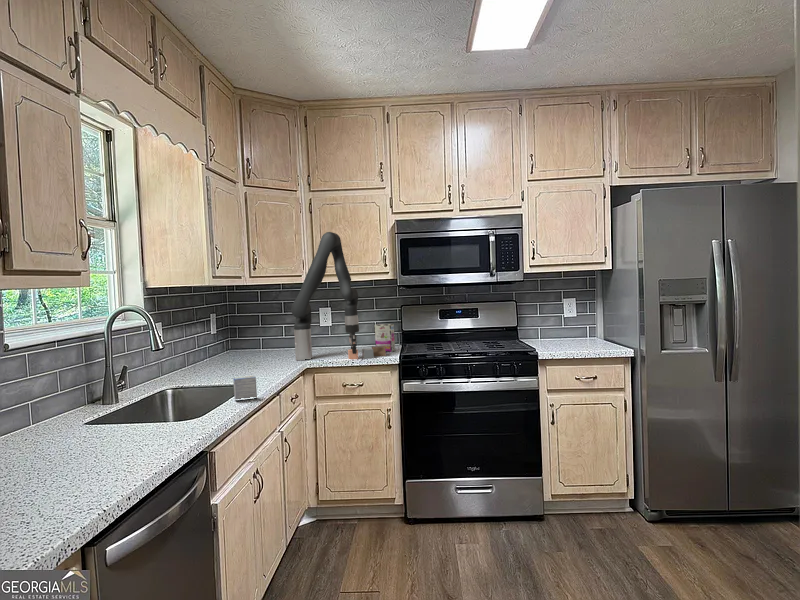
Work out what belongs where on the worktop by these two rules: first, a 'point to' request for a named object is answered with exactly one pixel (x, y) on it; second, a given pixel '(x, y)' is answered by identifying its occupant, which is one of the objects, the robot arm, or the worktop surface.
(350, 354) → the terracotta cube
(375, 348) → the walnut block
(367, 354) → the slate cube
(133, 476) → the worktop surface
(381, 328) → the candy bar box
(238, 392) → the medicine box
